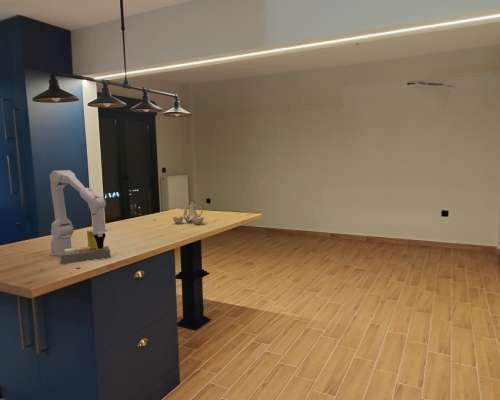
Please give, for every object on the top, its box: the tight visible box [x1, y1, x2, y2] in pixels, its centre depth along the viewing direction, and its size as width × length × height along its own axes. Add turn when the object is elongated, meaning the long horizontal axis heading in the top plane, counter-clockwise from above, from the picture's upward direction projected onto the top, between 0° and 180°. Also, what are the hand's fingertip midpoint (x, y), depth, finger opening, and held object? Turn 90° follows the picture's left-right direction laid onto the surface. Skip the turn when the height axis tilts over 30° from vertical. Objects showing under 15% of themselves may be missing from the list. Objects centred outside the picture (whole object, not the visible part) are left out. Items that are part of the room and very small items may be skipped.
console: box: [59, 245, 111, 265], centre depth 189 cm, size 10×22×4 cm, turn 114°
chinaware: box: [171, 201, 206, 226], centre depth 286 cm, size 28×17×17 cm, turn 72°
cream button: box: [65, 247, 76, 254], centre depth 186 cm, size 4×4×3 cm
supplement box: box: [86, 229, 105, 248], centre depth 207 cm, size 6×6×11 cm
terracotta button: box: [79, 246, 90, 252], centre depth 189 cm, size 4×4×3 cm
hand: (100, 248), depth 191 cm, fingers closed, pressing on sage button
